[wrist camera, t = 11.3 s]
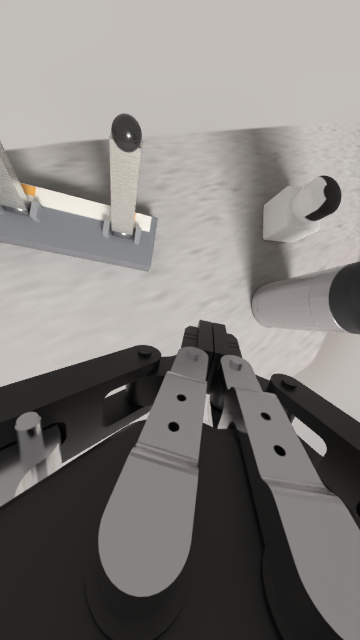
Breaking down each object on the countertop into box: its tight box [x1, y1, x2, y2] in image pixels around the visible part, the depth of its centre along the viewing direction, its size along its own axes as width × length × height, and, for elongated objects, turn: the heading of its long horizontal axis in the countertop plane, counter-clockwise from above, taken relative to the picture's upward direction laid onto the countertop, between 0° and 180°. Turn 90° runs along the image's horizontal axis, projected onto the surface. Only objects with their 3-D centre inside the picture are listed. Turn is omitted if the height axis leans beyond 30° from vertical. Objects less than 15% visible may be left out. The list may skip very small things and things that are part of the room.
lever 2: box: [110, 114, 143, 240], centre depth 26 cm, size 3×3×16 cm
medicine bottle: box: [263, 176, 341, 243], centre depth 39 cm, size 7×7×12 cm
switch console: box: [0, 182, 158, 271], centre depth 33 cm, size 24×8×6 cm, turn 81°
